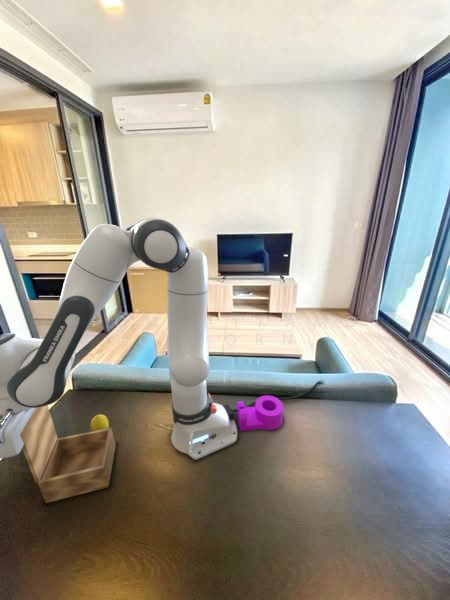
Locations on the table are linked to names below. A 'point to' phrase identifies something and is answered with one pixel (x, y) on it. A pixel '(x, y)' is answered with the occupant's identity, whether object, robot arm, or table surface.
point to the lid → (38, 440)
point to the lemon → (99, 423)
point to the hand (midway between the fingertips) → (34, 437)
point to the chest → (78, 465)
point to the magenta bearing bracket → (260, 414)
